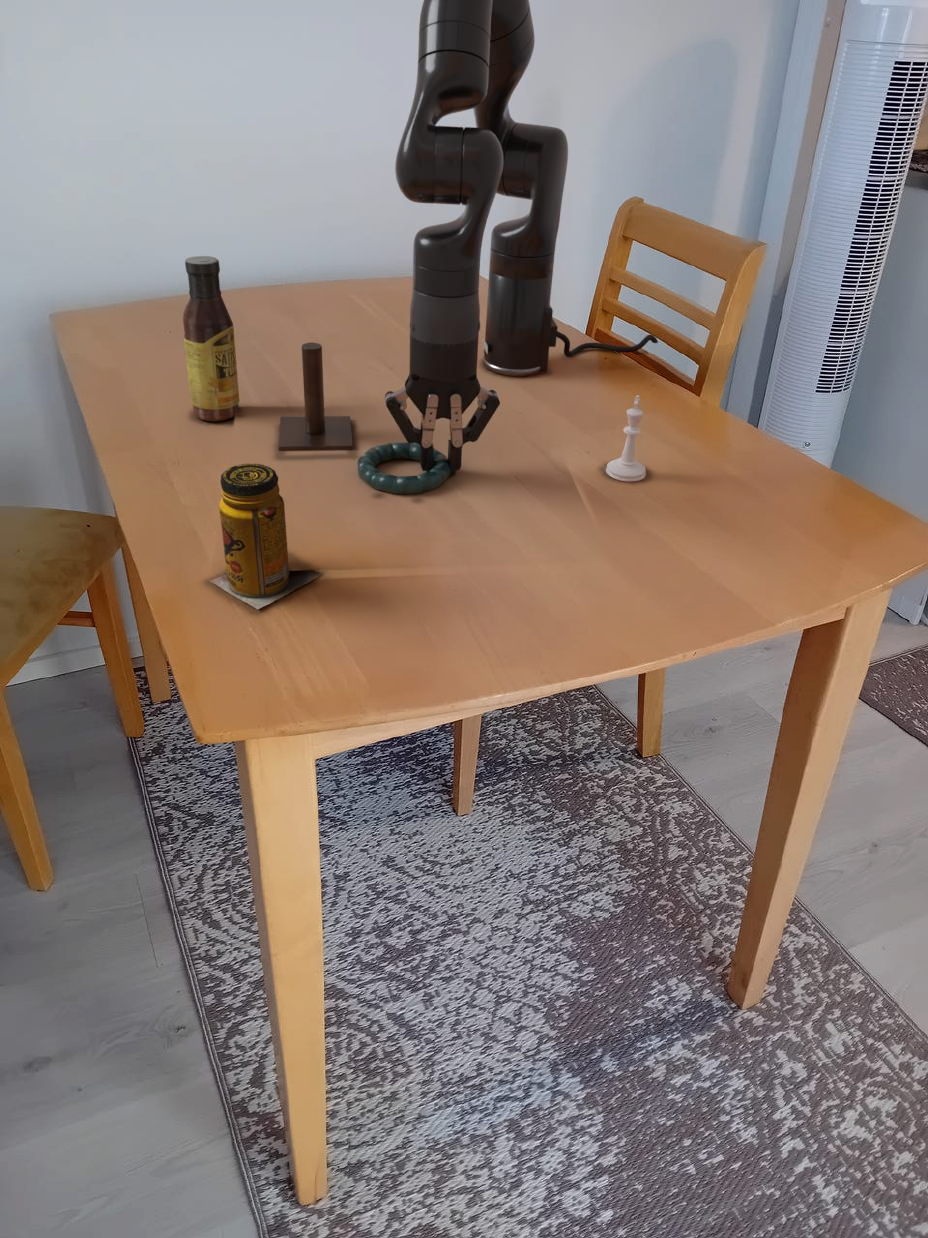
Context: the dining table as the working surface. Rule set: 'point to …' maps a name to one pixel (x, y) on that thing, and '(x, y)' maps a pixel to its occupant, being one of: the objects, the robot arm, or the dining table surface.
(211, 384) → the sauce bottle
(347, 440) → the peg stand
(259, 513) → the condiment
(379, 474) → the ring
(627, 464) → the chess piece
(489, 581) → the dining table surface
